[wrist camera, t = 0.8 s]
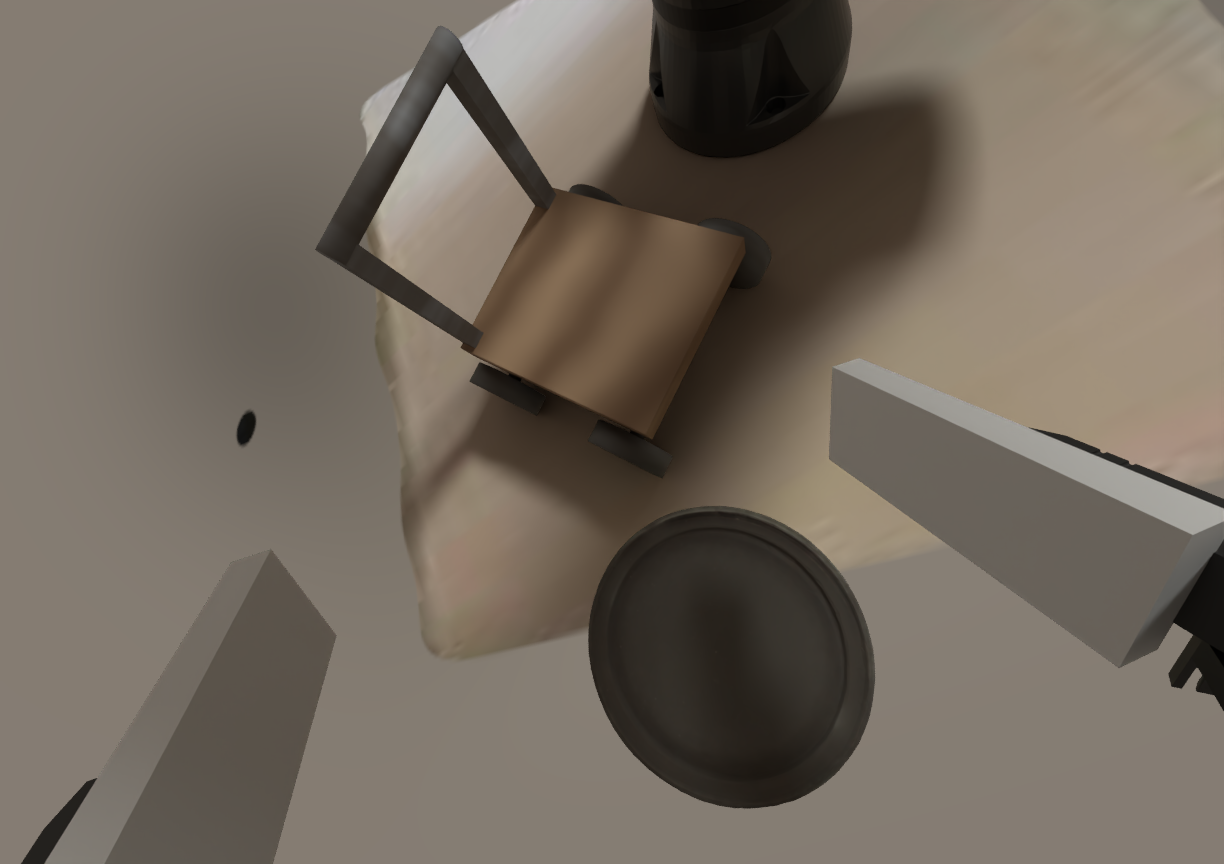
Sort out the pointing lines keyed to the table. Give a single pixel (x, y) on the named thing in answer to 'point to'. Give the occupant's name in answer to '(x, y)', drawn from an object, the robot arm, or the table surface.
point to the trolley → (561, 275)
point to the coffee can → (731, 657)
